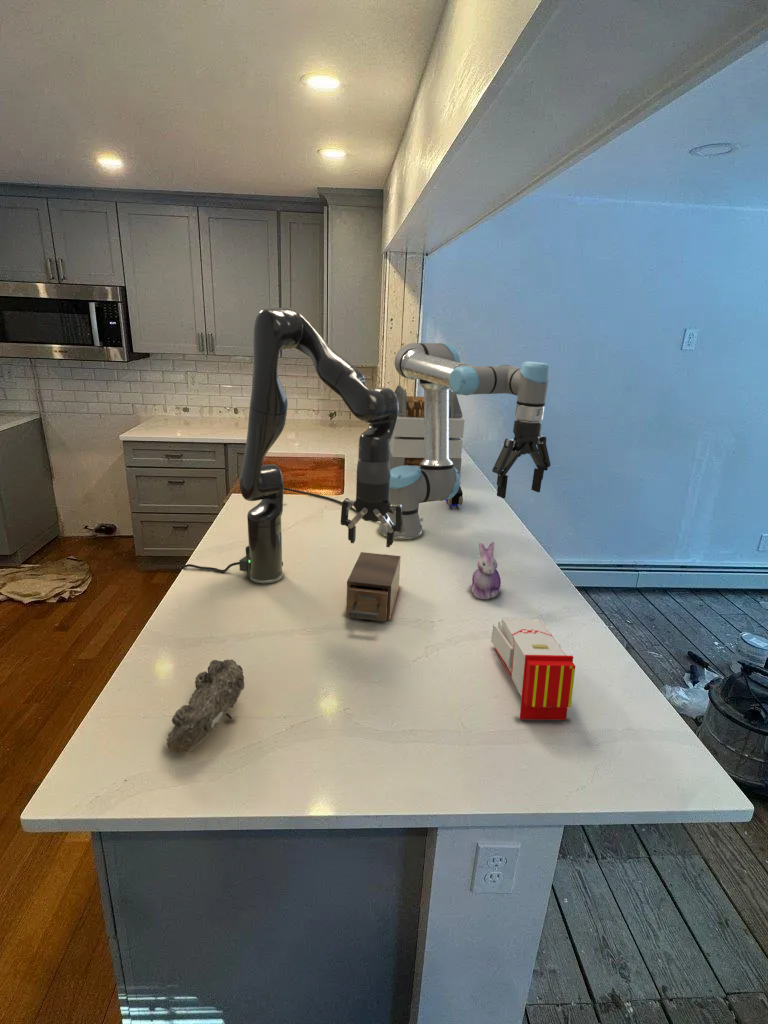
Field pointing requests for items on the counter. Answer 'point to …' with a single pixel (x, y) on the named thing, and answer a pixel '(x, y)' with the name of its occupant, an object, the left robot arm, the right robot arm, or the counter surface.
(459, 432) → the white slatted crate
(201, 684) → the fossil
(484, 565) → the figurine
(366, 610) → the drawer
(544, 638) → the toy
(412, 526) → the right robot arm
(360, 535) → the counter surface
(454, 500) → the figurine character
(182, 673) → the counter surface
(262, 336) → the left robot arm
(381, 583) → the cabinet
